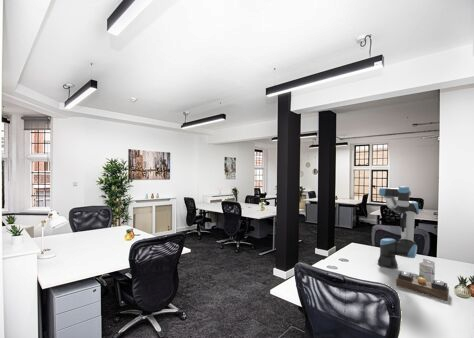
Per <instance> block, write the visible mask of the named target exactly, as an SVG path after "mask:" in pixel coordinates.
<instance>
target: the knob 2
mask: <svg viewBox="0 0 474 338" xmlns="http://www.w3.org/2000/svg"><path fill="white" fill-rule="evenodd" d="M444 283H445V282H444V281H442V280H440V279H435V284H439V285H443V286H444Z"/></svg>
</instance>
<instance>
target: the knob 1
mask: <svg viewBox="0 0 474 338" xmlns="http://www.w3.org/2000/svg"><path fill="white" fill-rule="evenodd" d="M410 274H411V273H410V272H407V271H401V275H404V276H408V277H410Z"/></svg>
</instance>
